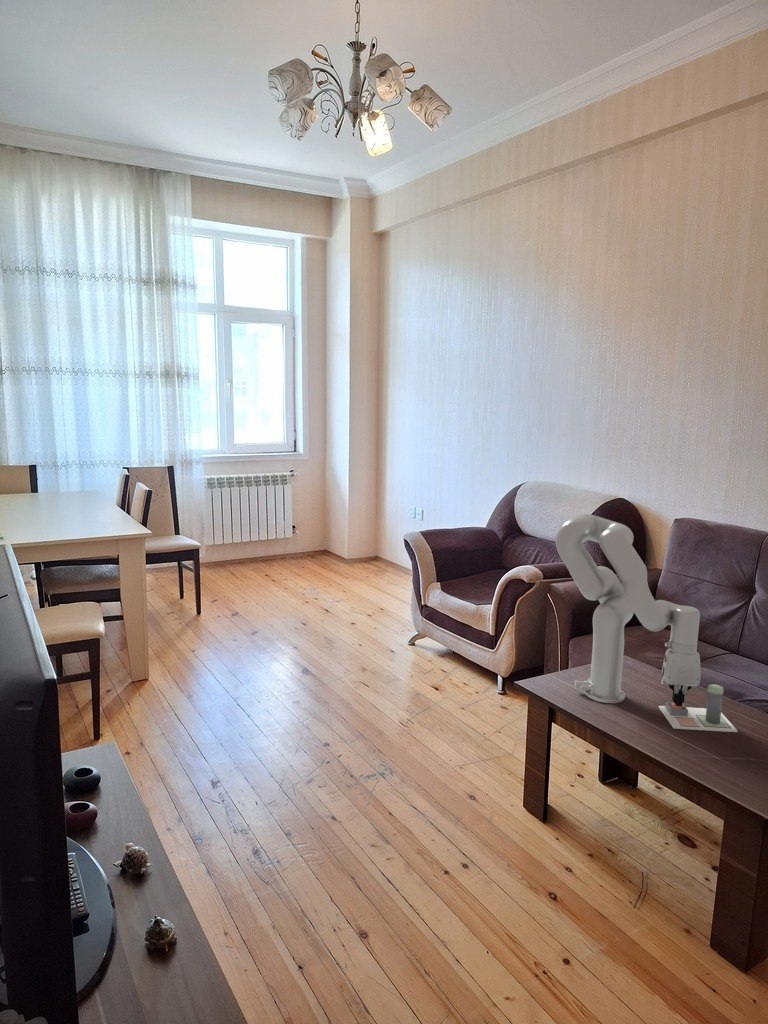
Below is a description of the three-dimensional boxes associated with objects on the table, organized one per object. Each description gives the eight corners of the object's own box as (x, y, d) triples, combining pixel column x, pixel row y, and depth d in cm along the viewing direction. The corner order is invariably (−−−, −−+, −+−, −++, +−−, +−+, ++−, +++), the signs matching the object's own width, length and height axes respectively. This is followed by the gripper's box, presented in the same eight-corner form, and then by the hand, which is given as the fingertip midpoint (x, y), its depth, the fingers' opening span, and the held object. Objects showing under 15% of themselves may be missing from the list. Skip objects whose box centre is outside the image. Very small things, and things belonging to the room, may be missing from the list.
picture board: (673, 728, 199) (674, 720, 199) (658, 707, 213) (659, 699, 213) (737, 732, 198) (738, 724, 198) (718, 710, 212) (719, 703, 211)
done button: (672, 713, 207) (673, 706, 207) (669, 708, 210) (669, 701, 210) (683, 714, 207) (684, 706, 207) (679, 709, 210) (680, 702, 210)
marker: (708, 723, 201) (711, 689, 200) (702, 717, 205) (705, 684, 204) (723, 724, 201) (726, 689, 200) (716, 718, 205) (719, 684, 204)
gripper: (661, 650, 202) (656, 708, 205) (713, 652, 201) (707, 711, 204) (653, 641, 210) (648, 697, 213) (704, 643, 208) (698, 700, 211)
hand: (677, 704), depth 208 cm, fingers closed
